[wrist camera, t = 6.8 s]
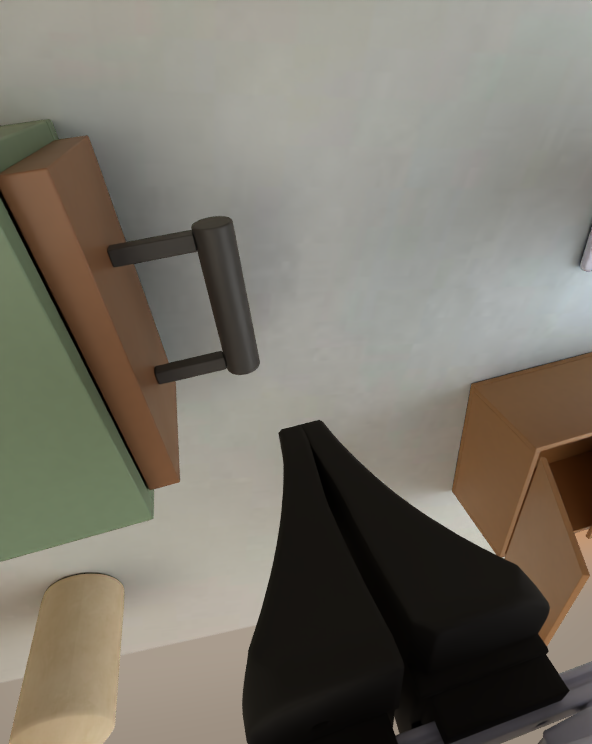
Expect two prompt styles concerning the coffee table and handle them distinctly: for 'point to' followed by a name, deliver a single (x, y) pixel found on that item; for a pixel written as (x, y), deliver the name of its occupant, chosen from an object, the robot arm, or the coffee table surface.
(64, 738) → the candle
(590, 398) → the carton
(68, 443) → the cabinet
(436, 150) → the coffee table surface
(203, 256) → the drawer
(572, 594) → the flap
